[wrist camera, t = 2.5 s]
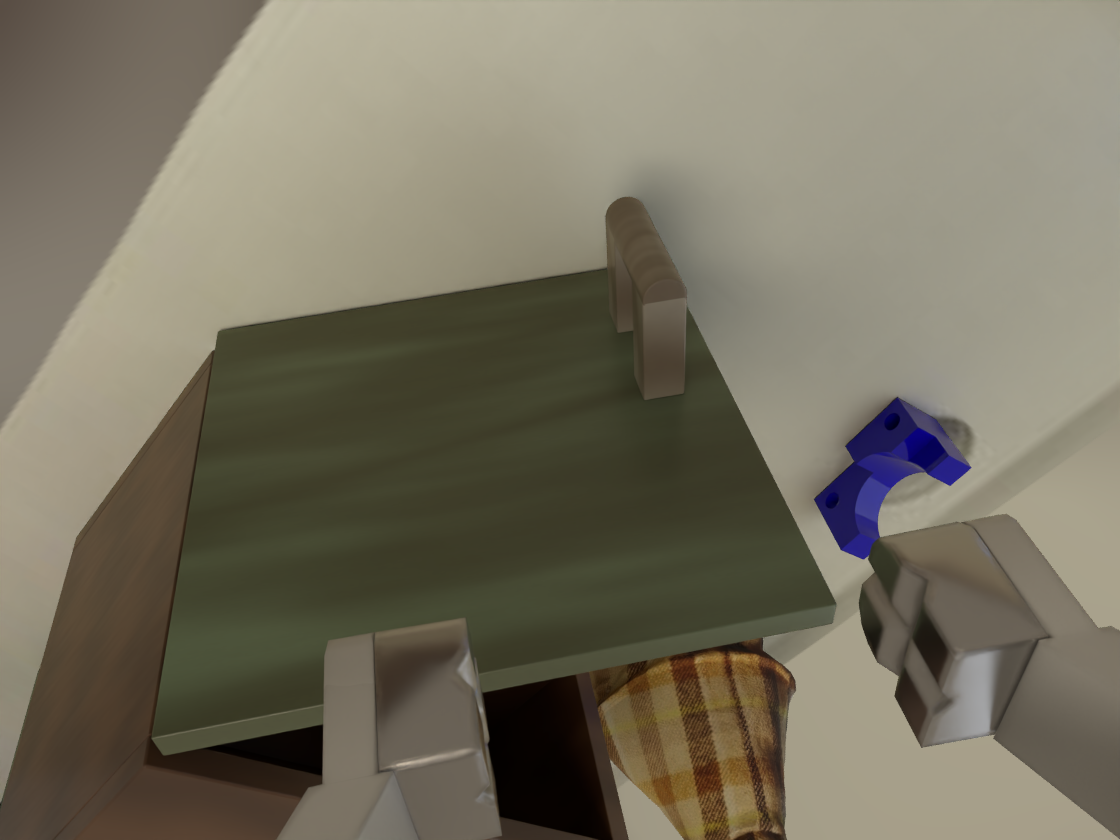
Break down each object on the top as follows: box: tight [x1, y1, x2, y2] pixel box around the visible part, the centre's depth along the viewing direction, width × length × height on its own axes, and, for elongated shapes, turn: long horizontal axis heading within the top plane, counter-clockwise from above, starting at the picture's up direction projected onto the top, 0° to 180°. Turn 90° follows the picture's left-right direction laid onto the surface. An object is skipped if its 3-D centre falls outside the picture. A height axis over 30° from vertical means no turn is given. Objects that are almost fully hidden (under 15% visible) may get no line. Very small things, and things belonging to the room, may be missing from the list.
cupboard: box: [0, 351, 629, 840], centre depth 42 cm, size 14×20×20 cm
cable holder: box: [814, 397, 971, 559], centre depth 52 cm, size 8×4×4 cm, turn 145°
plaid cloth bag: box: [589, 638, 796, 840], centre depth 51 cm, size 14×14×25 cm
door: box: [152, 197, 837, 755], centre depth 33 cm, size 6×20×20 cm, turn 94°
